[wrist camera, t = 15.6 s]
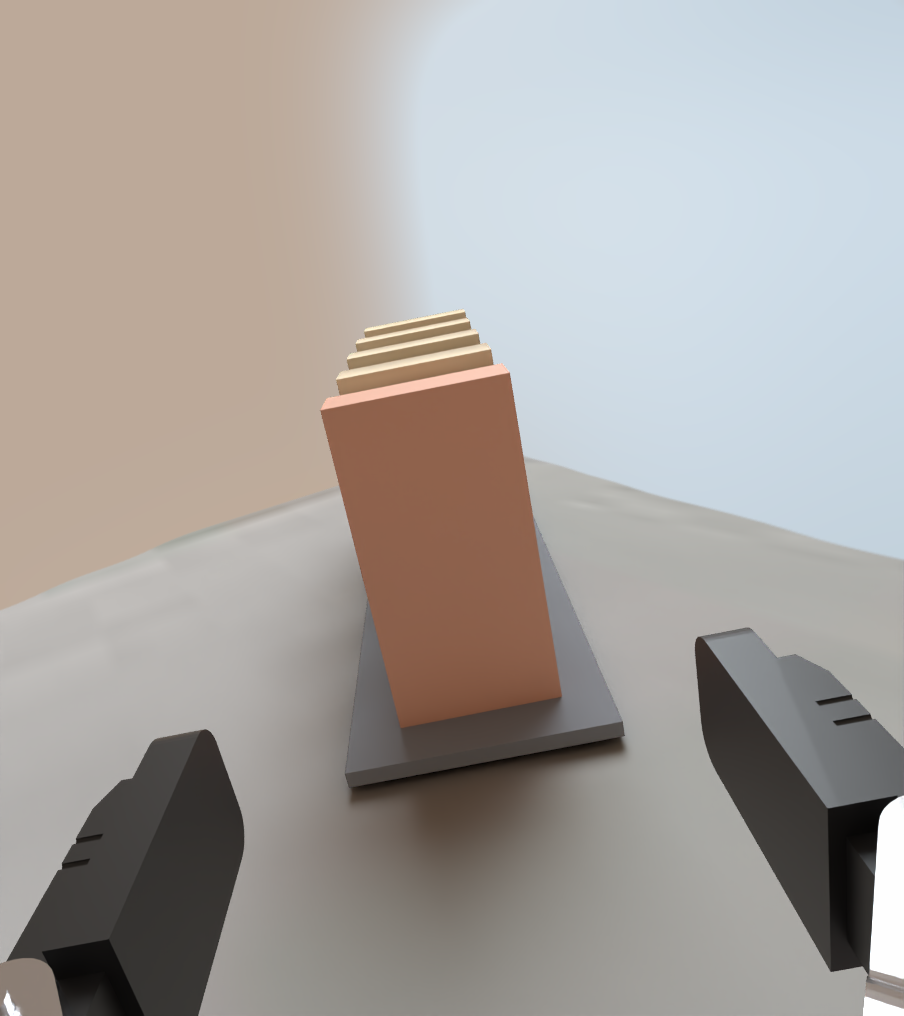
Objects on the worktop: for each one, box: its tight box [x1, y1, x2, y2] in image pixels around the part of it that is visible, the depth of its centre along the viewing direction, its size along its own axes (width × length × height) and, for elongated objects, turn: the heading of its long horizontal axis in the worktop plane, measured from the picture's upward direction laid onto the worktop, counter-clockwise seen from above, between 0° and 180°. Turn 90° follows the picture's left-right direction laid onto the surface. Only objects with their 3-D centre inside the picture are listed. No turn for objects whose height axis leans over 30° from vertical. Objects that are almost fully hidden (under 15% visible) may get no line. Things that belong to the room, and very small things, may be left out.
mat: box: [345, 517, 625, 788], centre depth 32 cm, size 23×8×1 cm, turn 3°
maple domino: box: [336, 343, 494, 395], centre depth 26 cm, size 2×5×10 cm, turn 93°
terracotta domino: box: [321, 363, 562, 728], centre depth 22 cm, size 2×5×10 cm, turn 93°
